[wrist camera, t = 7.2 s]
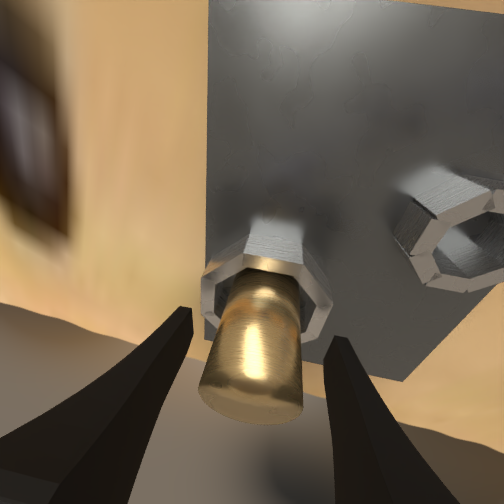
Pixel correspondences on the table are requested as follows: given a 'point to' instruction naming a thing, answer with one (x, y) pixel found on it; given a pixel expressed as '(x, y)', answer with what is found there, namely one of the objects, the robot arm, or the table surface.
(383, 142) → the fitting board
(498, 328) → the table surface
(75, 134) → the table surface
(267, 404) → the brass cylinder
